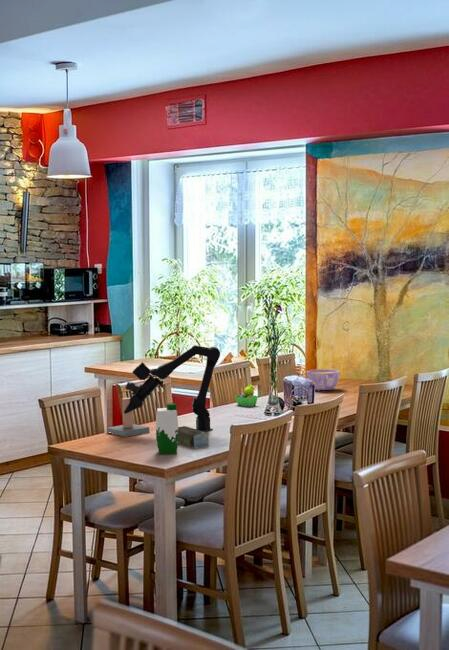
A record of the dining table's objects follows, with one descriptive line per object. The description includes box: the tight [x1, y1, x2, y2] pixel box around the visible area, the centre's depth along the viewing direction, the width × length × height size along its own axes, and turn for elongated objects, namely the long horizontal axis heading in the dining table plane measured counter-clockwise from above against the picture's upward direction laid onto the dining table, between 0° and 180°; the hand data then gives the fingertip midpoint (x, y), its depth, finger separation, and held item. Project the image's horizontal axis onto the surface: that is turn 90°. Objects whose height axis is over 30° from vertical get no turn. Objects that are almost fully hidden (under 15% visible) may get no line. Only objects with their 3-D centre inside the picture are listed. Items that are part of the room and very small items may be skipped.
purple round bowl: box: [306, 368, 341, 391], centre depth 531 cm, size 20×20×12 cm
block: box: [121, 397, 134, 427], centre depth 408 cm, size 4×4×13 cm
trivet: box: [106, 423, 151, 438], centre depth 409 cm, size 14×14×2 cm
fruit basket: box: [234, 384, 259, 407], centre depth 480 cm, size 11×9×11 cm
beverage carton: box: [178, 425, 210, 449], centre depth 381 cm, size 8×19×7 cm, turn 35°
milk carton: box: [155, 402, 179, 455], centre depth 363 cm, size 9×9×20 cm
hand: (124, 411), depth 408 cm, fingers open, 5 cm apart
